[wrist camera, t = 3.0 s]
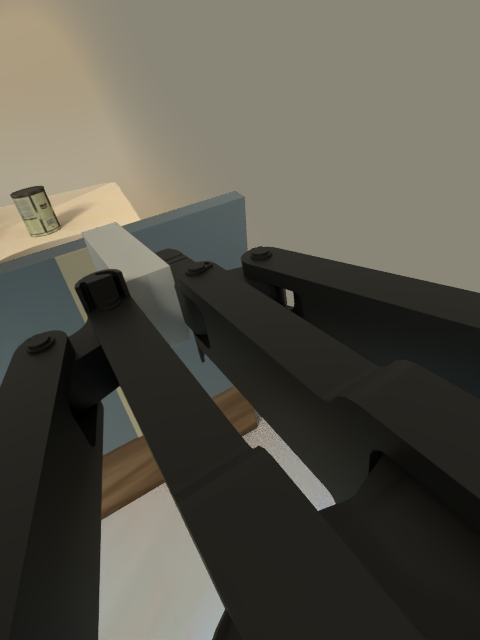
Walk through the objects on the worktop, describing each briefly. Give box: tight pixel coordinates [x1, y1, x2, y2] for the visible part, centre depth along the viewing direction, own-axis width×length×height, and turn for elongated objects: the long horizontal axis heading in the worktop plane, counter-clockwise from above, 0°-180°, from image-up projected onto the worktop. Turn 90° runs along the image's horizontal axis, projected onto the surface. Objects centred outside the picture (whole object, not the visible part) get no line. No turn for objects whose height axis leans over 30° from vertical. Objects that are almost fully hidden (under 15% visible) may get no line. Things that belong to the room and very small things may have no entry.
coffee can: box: [10, 186, 61, 237], centre depth 123 cm, size 10×10×14 cm
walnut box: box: [101, 386, 257, 520], centre depth 43 cm, size 18×20×9 cm
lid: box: [0, 191, 247, 455], centre depth 27 cm, size 18×20×1 cm
